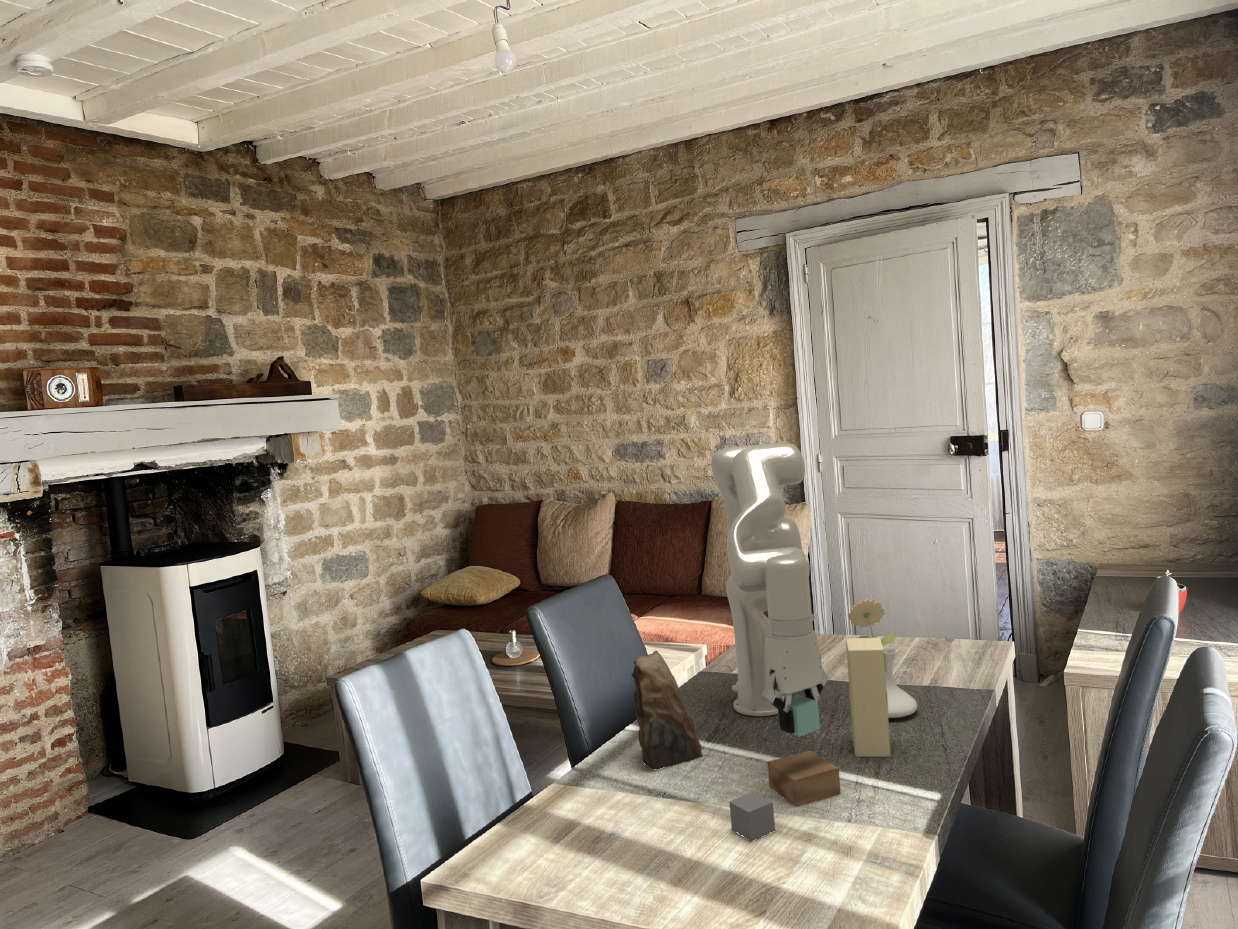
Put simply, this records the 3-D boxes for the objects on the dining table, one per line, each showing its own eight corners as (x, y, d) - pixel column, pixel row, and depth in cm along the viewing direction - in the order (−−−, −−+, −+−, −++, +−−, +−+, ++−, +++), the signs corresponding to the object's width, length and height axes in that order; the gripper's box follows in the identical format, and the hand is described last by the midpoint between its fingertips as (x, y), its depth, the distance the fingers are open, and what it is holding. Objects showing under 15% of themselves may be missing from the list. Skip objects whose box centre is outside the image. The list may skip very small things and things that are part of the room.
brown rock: (649, 774, 169) (639, 672, 168) (620, 753, 180) (611, 658, 179) (705, 757, 174) (696, 659, 173) (674, 737, 186) (665, 645, 184)
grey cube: (731, 831, 144) (729, 801, 144) (755, 821, 147) (752, 792, 146) (751, 842, 140) (748, 812, 140) (775, 832, 142) (772, 802, 142)
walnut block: (769, 788, 158) (767, 761, 158) (811, 776, 162) (809, 750, 161) (796, 808, 150) (794, 780, 150) (840, 795, 153) (838, 768, 153)
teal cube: (779, 729, 156) (777, 701, 155) (800, 721, 158) (798, 694, 158) (799, 736, 151) (796, 708, 151) (820, 729, 154) (817, 701, 154)
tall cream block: (895, 757, 166) (887, 648, 164) (855, 757, 167) (847, 650, 166) (891, 740, 174) (883, 636, 172) (852, 741, 175) (844, 638, 174)
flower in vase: (918, 704, 191) (910, 591, 190) (918, 724, 181) (909, 605, 179) (856, 703, 196) (848, 593, 194) (853, 722, 185) (844, 605, 183)
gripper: (811, 613, 161) (819, 709, 162) (739, 632, 153) (748, 734, 154) (841, 619, 155) (849, 720, 156) (768, 640, 146) (777, 746, 147)
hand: (799, 726), depth 155 cm, fingers closed on teal cube, 5 cm apart
